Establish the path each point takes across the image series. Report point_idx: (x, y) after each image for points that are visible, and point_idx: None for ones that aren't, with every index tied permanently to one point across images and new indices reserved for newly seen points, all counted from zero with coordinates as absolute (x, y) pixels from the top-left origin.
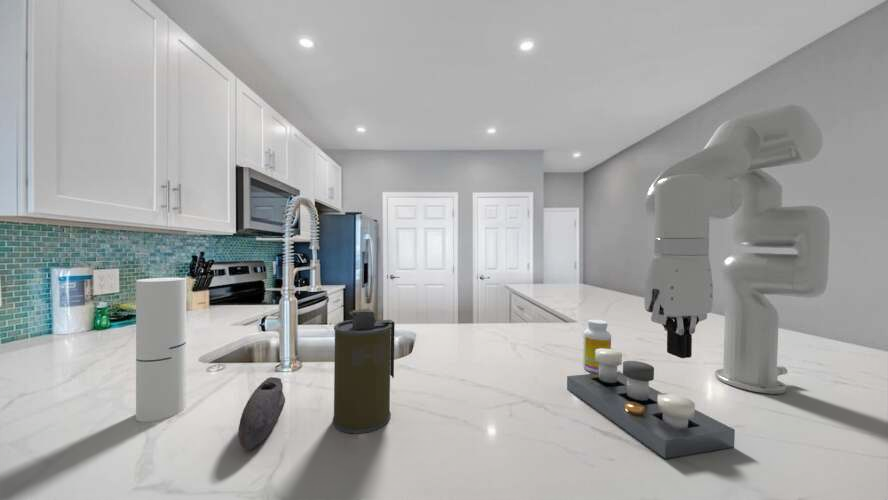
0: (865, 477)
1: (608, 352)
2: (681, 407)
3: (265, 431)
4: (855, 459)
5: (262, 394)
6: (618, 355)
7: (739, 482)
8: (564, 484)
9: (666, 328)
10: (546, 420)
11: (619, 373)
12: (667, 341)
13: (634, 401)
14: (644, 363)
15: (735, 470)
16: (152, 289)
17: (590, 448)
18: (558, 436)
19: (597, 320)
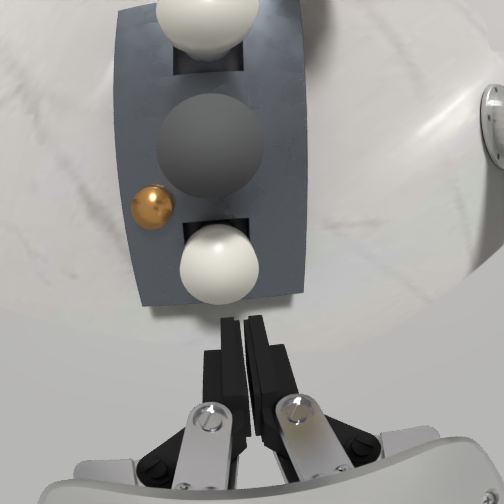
0: (375, 332)
1: (204, 5)
2: (202, 300)
3: None
4: (407, 306)
5: None
6: (218, 36)
7: (217, 335)
8: (18, 303)
9: (181, 435)
10: (22, 163)
11: (289, 8)
12: (222, 350)
13: None
14: (254, 130)
15: (236, 318)
16: None
17: (55, 249)
18: (24, 214)
19: None
